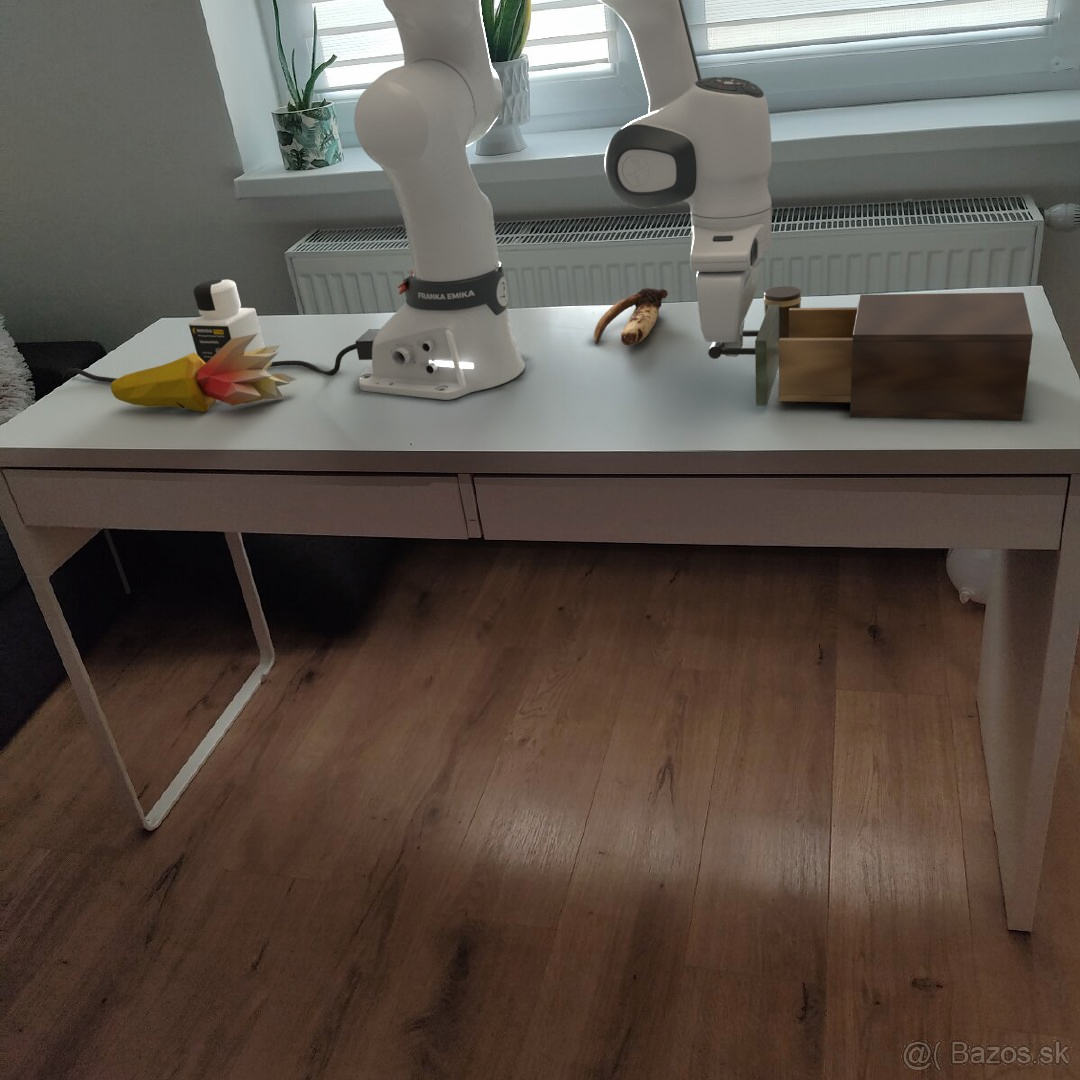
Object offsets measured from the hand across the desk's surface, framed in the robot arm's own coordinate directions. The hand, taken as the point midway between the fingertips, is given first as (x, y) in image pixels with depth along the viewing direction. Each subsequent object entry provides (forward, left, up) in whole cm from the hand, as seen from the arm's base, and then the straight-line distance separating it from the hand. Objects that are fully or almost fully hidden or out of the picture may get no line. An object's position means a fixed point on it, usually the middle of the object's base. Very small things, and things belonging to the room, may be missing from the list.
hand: (733, 352), depth 126 cm
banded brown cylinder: (+4, +14, -5) cm, 15 cm away
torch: (-70, -7, -5) cm, 71 cm away
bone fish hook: (-18, +21, -5) cm, 28 cm away
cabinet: (+23, 0, -5) cm, 23 cm away
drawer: (+9, 0, -4) cm, 10 cm away
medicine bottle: (-76, +9, -5) cm, 77 cm away
